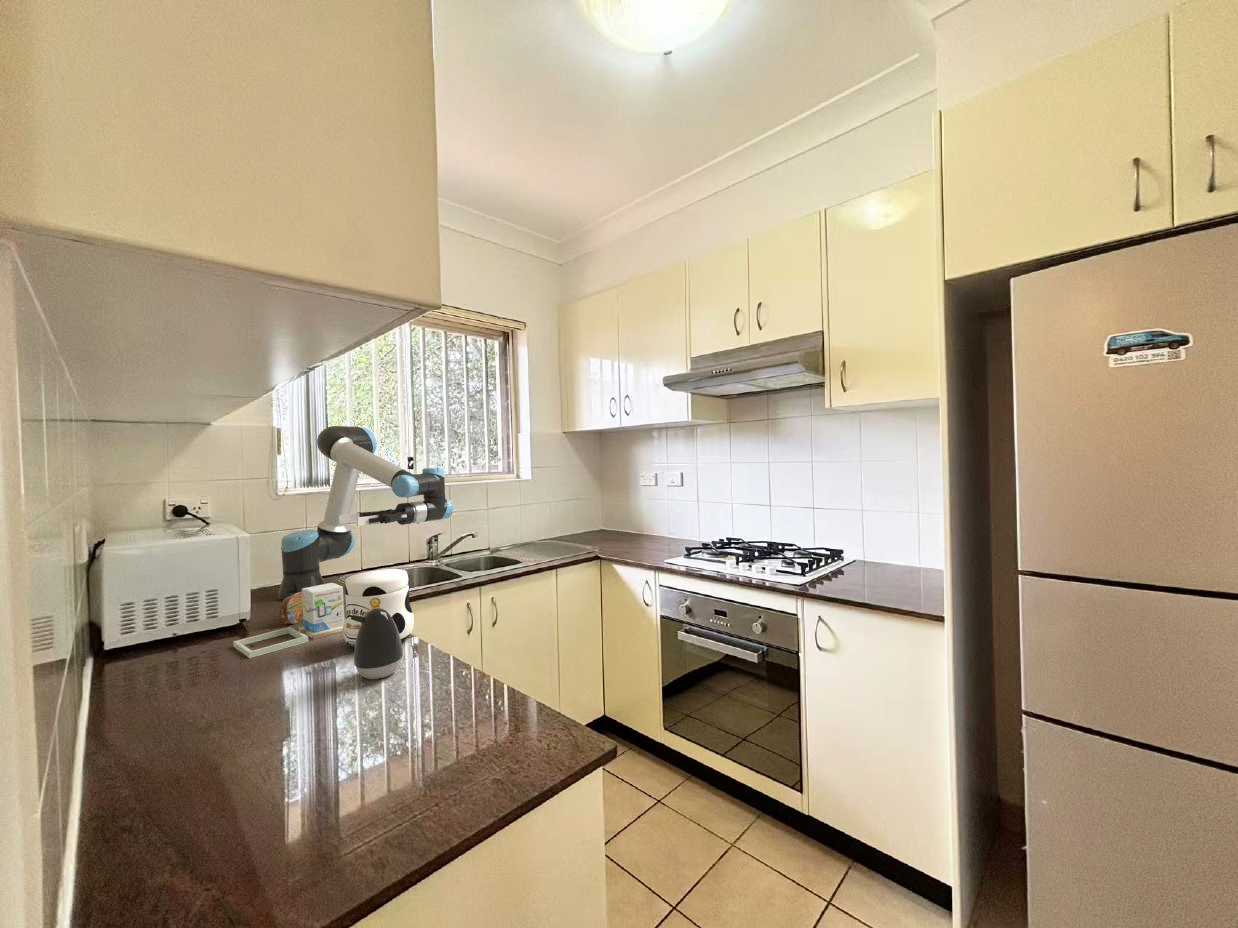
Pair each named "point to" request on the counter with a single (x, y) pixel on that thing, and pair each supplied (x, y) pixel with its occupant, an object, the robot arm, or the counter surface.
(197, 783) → the counter surface
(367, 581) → the milk container
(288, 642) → the tray
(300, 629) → the pad
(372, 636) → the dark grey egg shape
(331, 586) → the ink box
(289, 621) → the tin
